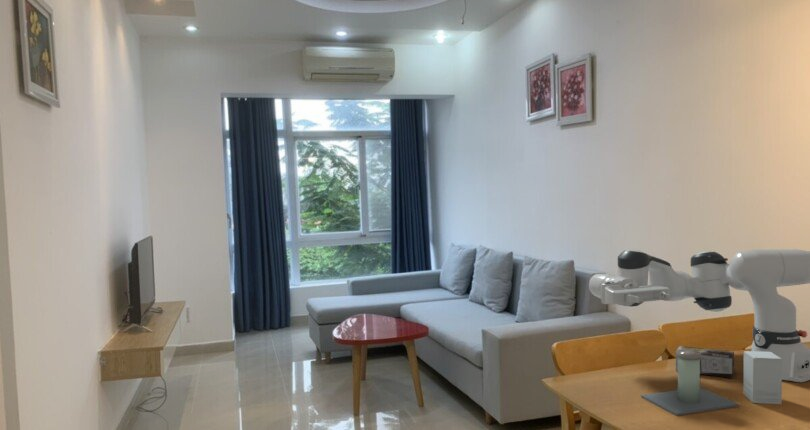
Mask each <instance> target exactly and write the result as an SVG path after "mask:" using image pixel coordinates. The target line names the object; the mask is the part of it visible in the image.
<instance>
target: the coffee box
mask: <svg viewBox="0 0 810 430" xmlns="http://www.w3.org/2000/svg"><path fill="white" fill-rule="evenodd" d="M681 349H689V350H695V351H698V352H700V353H701V359H700V375H708V376H714V377H721V378H728V379H733V378H734V373H735V352H734V351H730V350H721V349H712V348H704V347H703V348H702V347H695V346H682V345H679V346H678V347H677V350H681ZM677 350H676V351H675V371H676V372H678V357H677Z"/></svg>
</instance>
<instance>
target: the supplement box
mask: <svg viewBox="0 0 810 430" xmlns="http://www.w3.org/2000/svg"><path fill="white" fill-rule="evenodd" d="M782 383H783V380H782V359H781V358H780V357H778V356H777V355H775V354H774V353H772V352H764V351H751V350H750V351H749V350H743V396H745V397H746V398H747V399H749V401H750V402H751V403H752V404H753V403H754V404H765V405H782V404H783V402H782V399H783V398H782V395H783V393H782V390H783V388H782V386H783V385H782Z"/></svg>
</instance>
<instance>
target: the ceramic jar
mask: <svg viewBox="0 0 810 430" xmlns="http://www.w3.org/2000/svg"><path fill="white" fill-rule="evenodd" d="M676 351H677V357H678V371H677V390H678V399H679V400H680V401H683V402H687V403H698V402H699V401H700V387H701V382H700V381H701V380H700V379H701V376H700V375H701V374H700V359H701V353H700V352H698V351H695V350H689V349H681V350H676Z"/></svg>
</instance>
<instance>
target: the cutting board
mask: <svg viewBox="0 0 810 430" xmlns="http://www.w3.org/2000/svg"><path fill="white" fill-rule="evenodd" d="M640 396H641V399H644V400H646V401H648V402H649V403H652V404H654V405H656V406H658V407H659V408H662V409H663V410H665V411H667V412H669V413H671V414H673V415H675V416H683V415H688V414H689V415H690V414H695V413H697V414H698V413H702V412H709V411H715V410H717V411H718V410H722V409H730V408H735V407H739V406H740V404H739V403H738V402H735V401H733V400H730V399H728V398H726V397H724V396H721V395H719V394H716V393H715V392H712V391H710V390H707V389H705V388H703V387H701V386H700V401H699V402H698V403H687V402H683V401H680V400H679V399H678V389H676V390H670V391H662V392H655V393H654V392H653V393H648V394H641V395H640Z"/></svg>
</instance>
